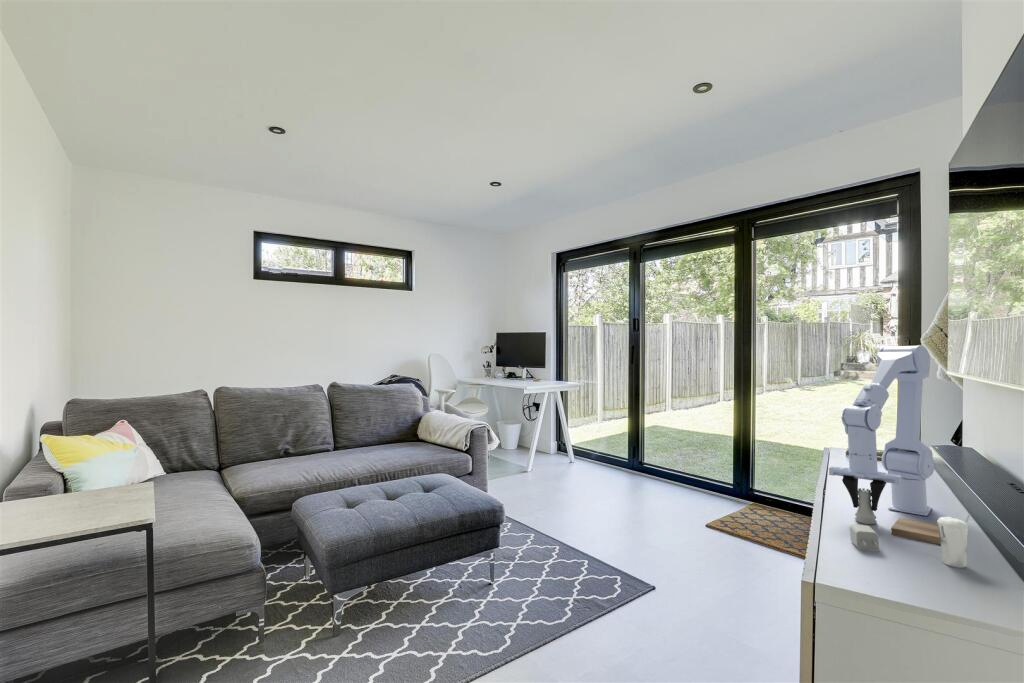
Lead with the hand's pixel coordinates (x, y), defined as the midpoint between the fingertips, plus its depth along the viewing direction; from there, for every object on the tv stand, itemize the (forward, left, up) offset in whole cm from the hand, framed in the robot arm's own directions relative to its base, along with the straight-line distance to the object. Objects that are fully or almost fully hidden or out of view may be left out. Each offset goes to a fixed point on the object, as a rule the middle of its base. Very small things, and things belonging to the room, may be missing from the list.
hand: (865, 508), depth 119 cm
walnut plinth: (+1, +11, -3) cm, 12 cm away
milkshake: (+17, +18, -3) cm, 25 cm away
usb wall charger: (+20, +4, -4) cm, 21 cm away
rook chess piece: (0, 0, -3) cm, 3 cm away
